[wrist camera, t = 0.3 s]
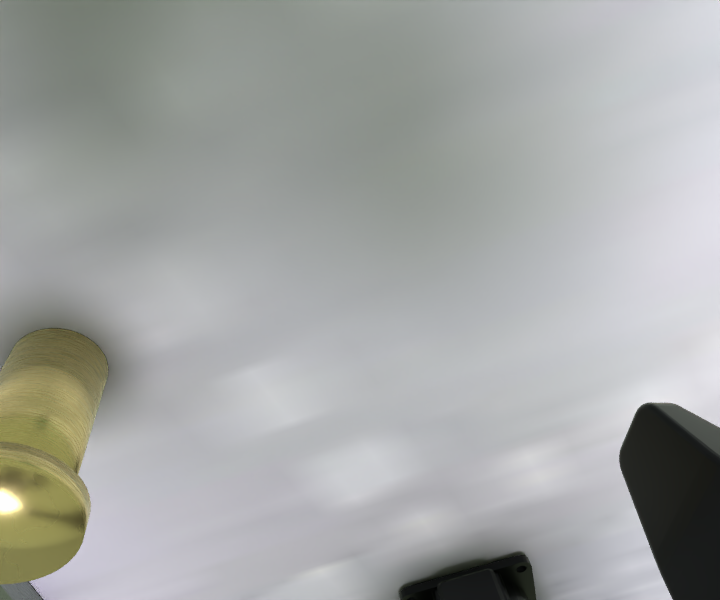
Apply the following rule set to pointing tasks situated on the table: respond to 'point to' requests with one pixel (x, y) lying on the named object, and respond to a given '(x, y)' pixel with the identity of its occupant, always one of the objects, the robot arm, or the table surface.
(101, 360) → the brass pin
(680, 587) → the robot arm
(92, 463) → the table surface
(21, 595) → the plate with square hole
